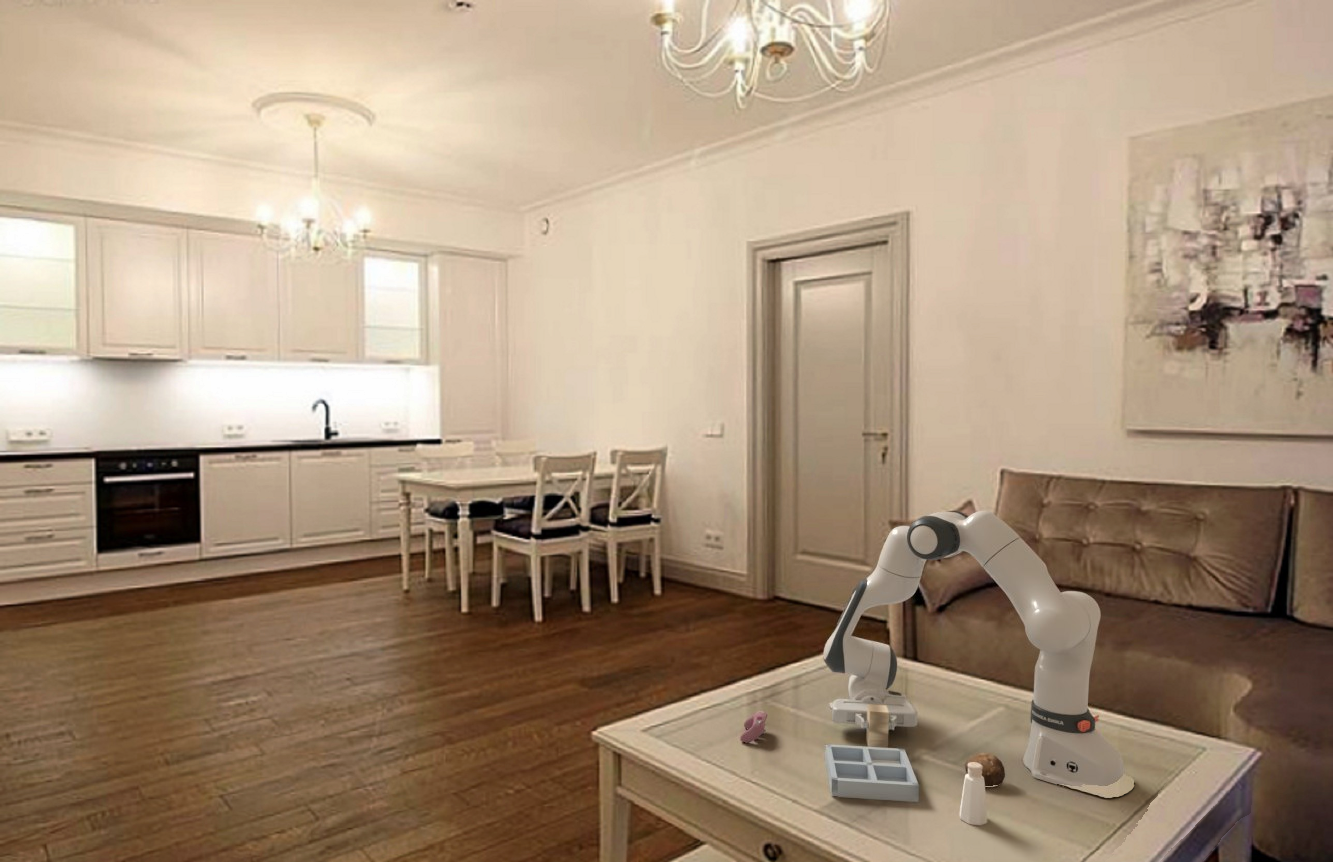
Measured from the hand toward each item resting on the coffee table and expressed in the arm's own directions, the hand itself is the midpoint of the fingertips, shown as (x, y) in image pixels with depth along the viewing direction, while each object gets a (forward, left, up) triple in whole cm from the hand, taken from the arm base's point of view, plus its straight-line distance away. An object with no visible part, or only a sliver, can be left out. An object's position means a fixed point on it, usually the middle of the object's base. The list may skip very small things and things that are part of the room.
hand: (878, 726), depth 202 cm
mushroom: (-25, -4, -5) cm, 26 cm away
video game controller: (+22, +19, -5) cm, 30 cm away
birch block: (+1, -1, -5) cm, 5 cm away
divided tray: (-9, +15, -5) cm, 18 cm away
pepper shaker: (-32, +12, -5) cm, 35 cm away
